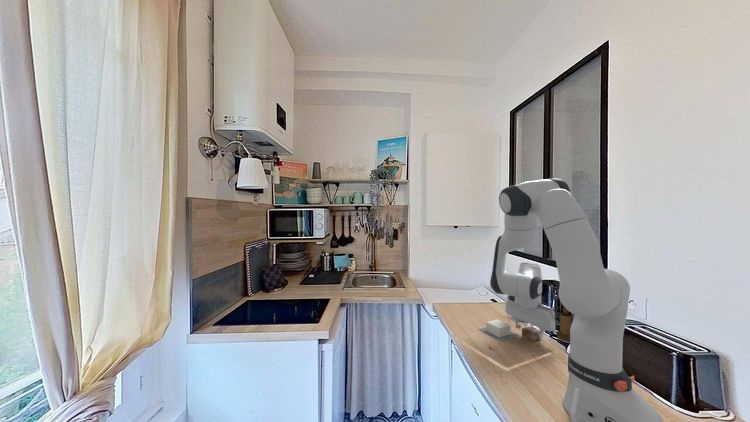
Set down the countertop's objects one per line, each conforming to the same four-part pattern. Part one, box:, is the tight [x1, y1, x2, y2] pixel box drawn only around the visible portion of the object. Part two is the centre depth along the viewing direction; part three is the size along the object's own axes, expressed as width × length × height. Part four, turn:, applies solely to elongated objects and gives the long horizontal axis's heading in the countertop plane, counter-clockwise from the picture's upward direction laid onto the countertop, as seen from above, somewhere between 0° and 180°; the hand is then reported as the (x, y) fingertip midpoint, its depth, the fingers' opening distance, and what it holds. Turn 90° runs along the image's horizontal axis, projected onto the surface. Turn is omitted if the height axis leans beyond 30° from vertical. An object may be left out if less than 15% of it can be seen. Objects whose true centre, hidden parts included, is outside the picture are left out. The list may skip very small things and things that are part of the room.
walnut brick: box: [521, 326, 542, 343], centre depth 114 cm, size 5×5×5 cm
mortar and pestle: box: [556, 306, 572, 343], centre depth 115 cm, size 7×6×18 cm
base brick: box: [485, 319, 511, 337], centre depth 120 cm, size 7×7×4 cm
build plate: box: [477, 327, 520, 342], centre depth 120 cm, size 12×12×1 cm
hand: (528, 332), depth 115 cm, fingers open, 8 cm apart
